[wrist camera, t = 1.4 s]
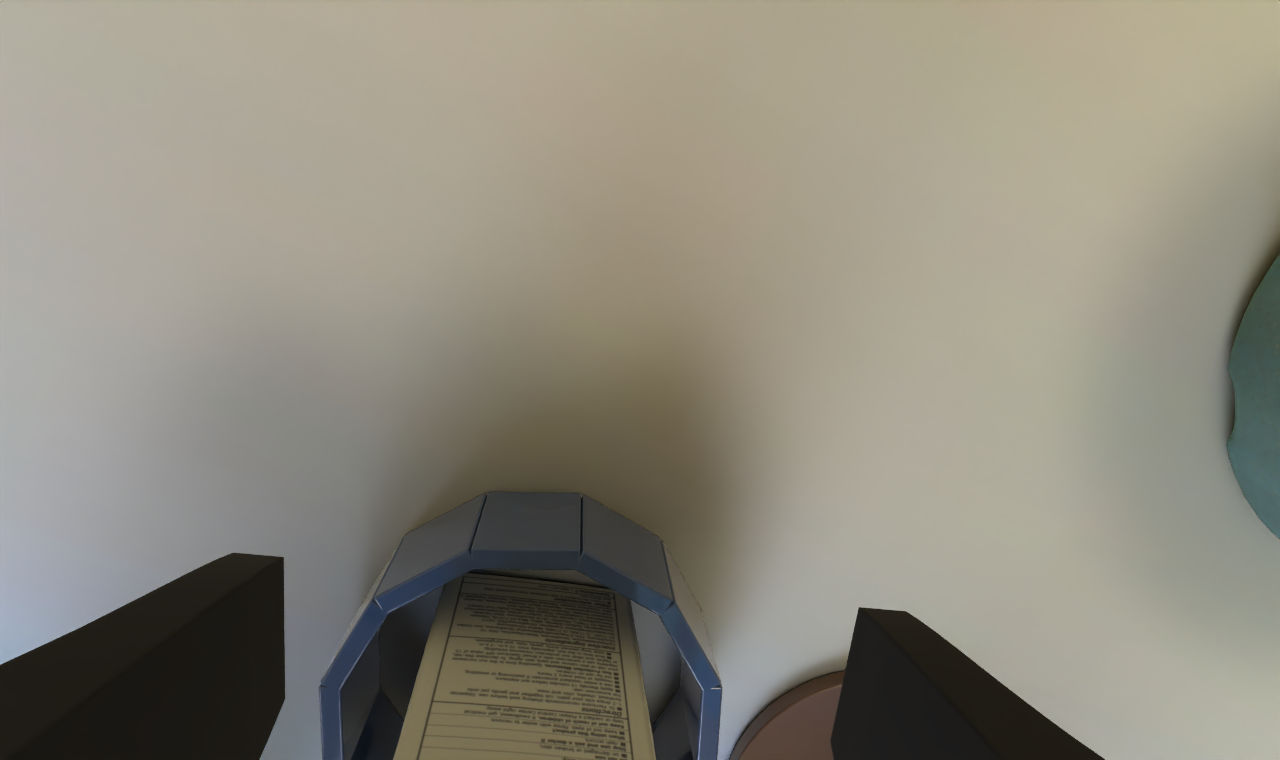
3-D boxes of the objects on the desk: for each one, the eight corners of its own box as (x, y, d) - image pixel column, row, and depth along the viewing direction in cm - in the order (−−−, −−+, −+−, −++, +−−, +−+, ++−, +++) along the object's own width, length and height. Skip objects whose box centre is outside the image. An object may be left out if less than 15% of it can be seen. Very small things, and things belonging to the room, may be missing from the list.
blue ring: (365, 796, 23) (328, 901, 20) (354, 488, 21) (310, 546, 18) (690, 793, 24) (707, 894, 21) (710, 494, 22) (733, 551, 19)
